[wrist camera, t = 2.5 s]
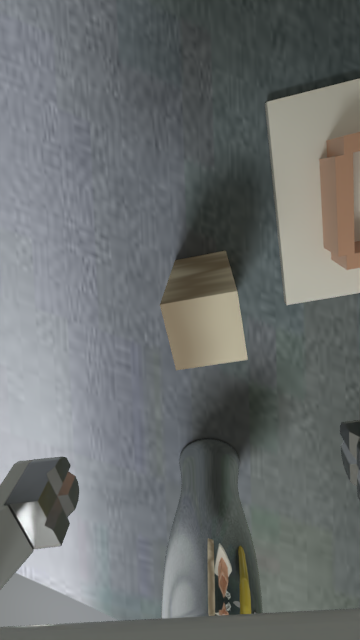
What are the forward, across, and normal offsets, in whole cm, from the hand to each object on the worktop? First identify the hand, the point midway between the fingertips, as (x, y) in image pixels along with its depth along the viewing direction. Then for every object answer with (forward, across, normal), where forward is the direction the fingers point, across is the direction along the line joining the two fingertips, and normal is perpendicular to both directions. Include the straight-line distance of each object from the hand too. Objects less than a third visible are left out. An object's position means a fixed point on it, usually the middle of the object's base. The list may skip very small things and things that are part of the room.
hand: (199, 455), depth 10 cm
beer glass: (+19, -3, -19) cm, 27 cm away
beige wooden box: (+19, 0, 0) cm, 19 cm away
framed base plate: (+19, +13, +4) cm, 23 cm away
